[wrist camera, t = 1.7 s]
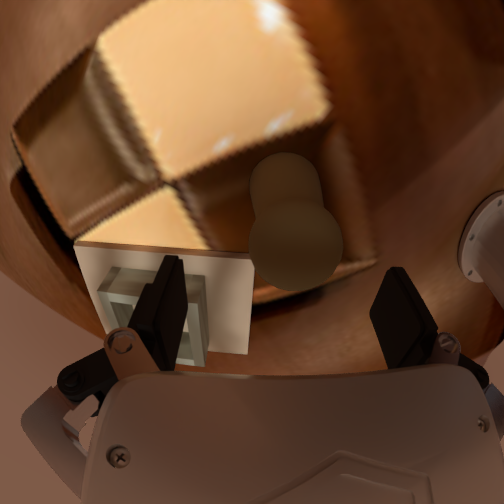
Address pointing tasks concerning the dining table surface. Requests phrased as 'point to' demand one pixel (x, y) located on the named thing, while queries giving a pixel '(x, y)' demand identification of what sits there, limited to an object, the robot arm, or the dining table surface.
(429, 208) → the dining table surface
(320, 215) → the brown rounded lobed piece
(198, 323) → the holder
